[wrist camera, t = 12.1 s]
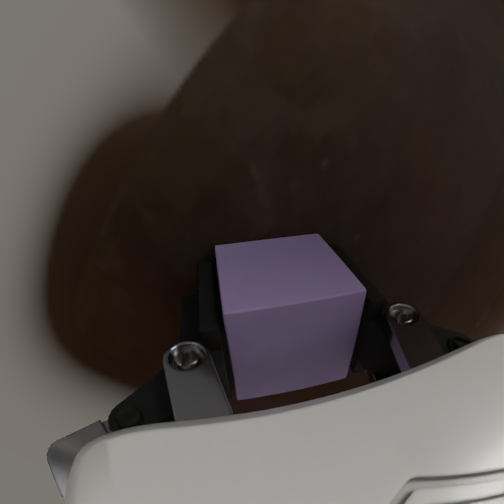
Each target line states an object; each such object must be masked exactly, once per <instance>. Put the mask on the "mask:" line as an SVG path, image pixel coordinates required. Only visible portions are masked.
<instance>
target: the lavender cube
mask: <svg viewBox="0 0 504 504" xmlns="http://www.w3.org/2000/svg"><path fill="white" fill-rule="evenodd" d="M215 254H216V263H217V272H218V280H219V289H220V297H221V305H222V312H223V319H224V326H225V332H226V336H227V341H228V348H229V354H230V360H231V366H232V372H233V378H234V384H235V392H236V398H237V400H243V399H249V398H256V397H262V396H268V395H274V394H279V393H284V392H289V391H294V390H299V389H303V388H308V387H312V386H316V385H320V384H324V383H328V382H332V381H336V380H340V379H343V378H346V376H347V372H348V369H349V365H350V361H351V358H352V354H353V350H354V346H355V342H356V338H357V333H358V329H359V325H360V320H361V316H362V311H363V306H364V301H365V296H366V288H365V287H364V286H363V285H362V284H361V282H360V281H359V280H358V279H357V278H356V276H355V275H354V274H353V273H352V272H351V271H350V269H349V268H348V267H347V266H346V265H345V264H344V262H343V261H342V260H341V259H340V258H339V257H338V256H337V254H336V253H335V252H334V251H333V250H332V249H331V248H330V246H329V245H328V244H327V243H326V242H325V241H324V240H323V239H322V237H321V236H320V235H319V234H309V235H300V236H291V237H283V238H274V239H266V240H257V241H249V242H241V243H233V244H224V245H216V246H215Z"/></svg>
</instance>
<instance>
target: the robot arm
mask: <svg viewBox="0 0 504 504" xmlns="http://www.w3.org/2000/svg"><path fill="white" fill-rule="evenodd" d="M330 248H331V249H332V250H333V251H334V252H335V253H336V254H337V256H338V257H339V258H340V259H341V260H342V261H343V262H344V264H345V265H346V266H347V267H348V268H349V269H350V271H351V272H352V273H353V274H354V275H355V276H356V278H357V279H358V280H359V281H360V282H361V284H362V285H363V286H364V287H365V288H366V296H365V301H364V306H363V311H362V316H361V320H360V325H359V329H358V333H357V338H356V342H355V346H354V350H353V354H352V358H351V361H350V367H351V369H352V371H353V372H357V371H360V370H367V374H368V378H369V382H370V384H367V385H364V386H361V387H357V388H354V389H351V390H347V391H344V392H340V393H337V394H333V395H329V396H326V397H322V398H318V399H314V400H310V401H305V402H301V403H297V404H292V405H287V406H283V407H278V408H272V409H267V410H262V411H255V412H250V413H243V414H236V415H234V413H233V411H232V408H231V406H230V403H229V399H231V398H232V396H231V389H235V384H234V378H233V372H232V366H231V360H230V354H229V348H228V341H227V336H226V332H225V326H224V319H223V312H222V305H221V297H220V289H219V280H218V272H217V264H213V263H212V260H211V261H203V262H198V285H199V295H194V296H186V297H182V309H181V329H180V341H179V342H176V343H174V344H173V345H171V346H170V347H169V348H168V349H167V350H166V351H165V353H164V355H163V365H164V369H163V370H162V371H160V372H159V373H158V374H157V375H156V376H154V377H153V378H152V379H150V380H149V381H148V382H147V383H145V384H144V385H143V386H141V387H140V388H139V389H138V390H137V391H135V392H134V393H132V394H131V395H130V396H129V397H127V398H126V399H125V400H123V401H122V402H121V403H120V404H118V405H117V406H116V407H115V408H114V409H113V410H112V411H111V413H110V415H109V419H108V420H107V421H105V422H103V423H102V422H101V421H100V420H99V421H97V422H95V423H93V424H91V425H89V426H87V427H85V428H83V429H81V430H79V431H76V432H74V433H72V434H70V435H68V436H66V437H64V438H61V439H59V440H57V441H56V442H54V443H53V444H51V446H50V447H49V449H48V452H47V460H48V464H49V466H50V469H51V472H52V474H53V477H54V479H55V482H56V484H57V486H58V488H59V491H60V493H61V495H62V497H63V500H64V504H504V334H497V335H492V336H488V337H486V338H483V339H480V340H474V342H473V341H472V340H471V339H470V338H469V337H467V336H466V335H463V334H461V333H457V332H454V331H450V330H447V329H443V328H440V327H436V326H433V325H429V324H428V323H427V321H426V320H425V318H424V316H423V315H422V313H421V312H420V311H419V309H418V308H416V307H415V306H413V305H411V304H408V303H404V302H396V303H392V304H390V305H389V303H388V302H387V301H386V300H385V298H384V296H383V295H382V294H381V293H380V292H379V291H378V289H377V288H376V287H375V286H374V285H373V284H372V283H371V281H370V280H369V279H368V278H367V277H366V276H365V275H364V274H363V273H362V271H361V270H360V269H359V268H358V267H357V266H356V265H355V264H354V263H353V261H352V260H351V259H350V258H349V257H348V256H347V255H346V254H345V253H344V252H343V251H342V250H341V248H340V247H339V246H338V245H330Z"/></svg>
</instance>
